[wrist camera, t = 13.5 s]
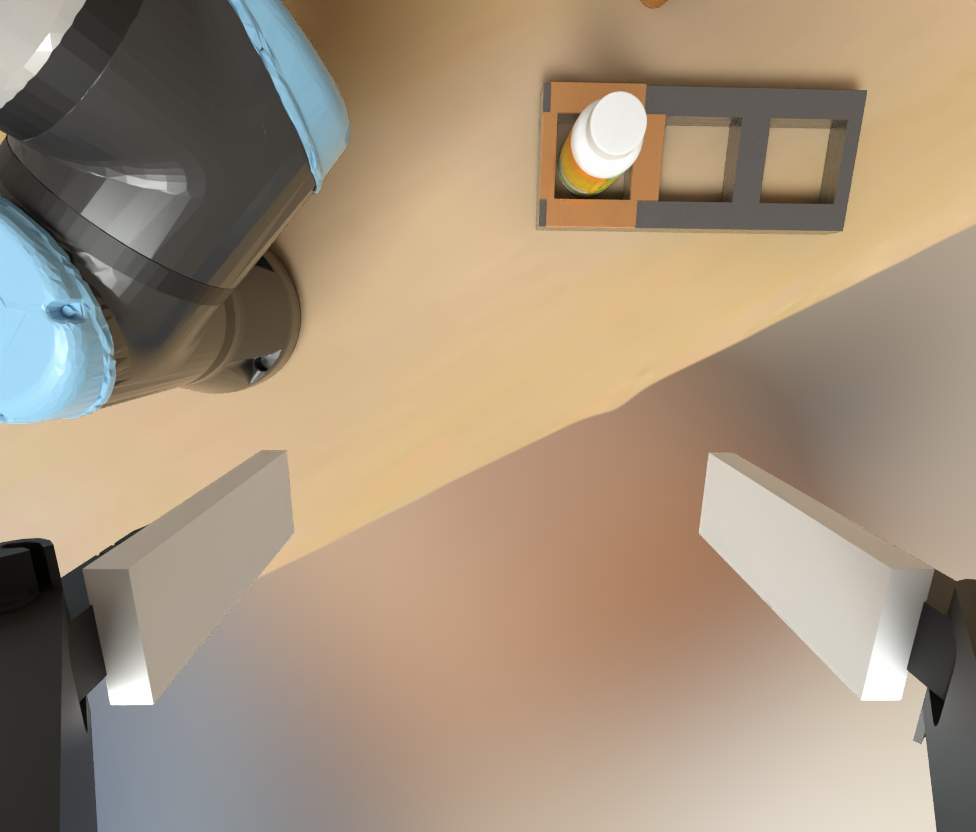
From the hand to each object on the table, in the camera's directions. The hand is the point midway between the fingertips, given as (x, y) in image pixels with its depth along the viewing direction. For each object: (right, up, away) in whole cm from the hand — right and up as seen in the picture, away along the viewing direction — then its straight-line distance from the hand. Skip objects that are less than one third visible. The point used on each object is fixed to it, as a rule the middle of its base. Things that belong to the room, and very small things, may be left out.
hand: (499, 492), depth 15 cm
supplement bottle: (+8, +25, +27) cm, 38 cm away
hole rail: (+18, +25, +27) cm, 41 cm away
